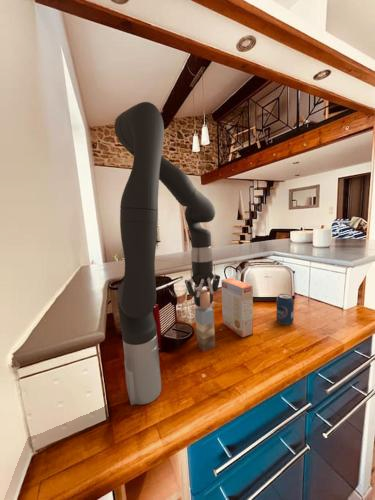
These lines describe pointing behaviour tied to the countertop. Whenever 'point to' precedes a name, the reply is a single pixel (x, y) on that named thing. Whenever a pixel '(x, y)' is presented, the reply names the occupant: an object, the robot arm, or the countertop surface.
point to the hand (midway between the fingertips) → (203, 304)
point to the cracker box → (237, 306)
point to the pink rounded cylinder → (204, 299)
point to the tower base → (206, 342)
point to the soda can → (285, 308)
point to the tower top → (204, 315)
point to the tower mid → (205, 330)
